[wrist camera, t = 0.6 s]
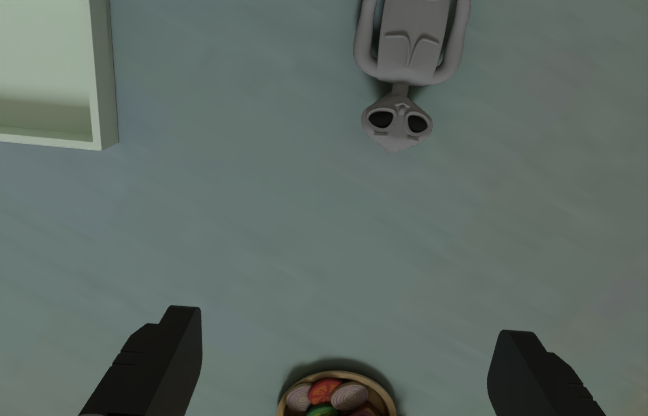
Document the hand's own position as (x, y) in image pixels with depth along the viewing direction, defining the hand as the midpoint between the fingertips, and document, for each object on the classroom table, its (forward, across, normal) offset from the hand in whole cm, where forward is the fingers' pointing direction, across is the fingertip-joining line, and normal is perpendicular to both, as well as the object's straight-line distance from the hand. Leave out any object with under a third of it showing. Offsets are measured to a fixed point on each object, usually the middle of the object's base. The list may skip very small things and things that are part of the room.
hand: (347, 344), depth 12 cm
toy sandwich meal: (+26, -3, +30) cm, 40 cm away
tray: (+26, +24, -4) cm, 36 cm away
